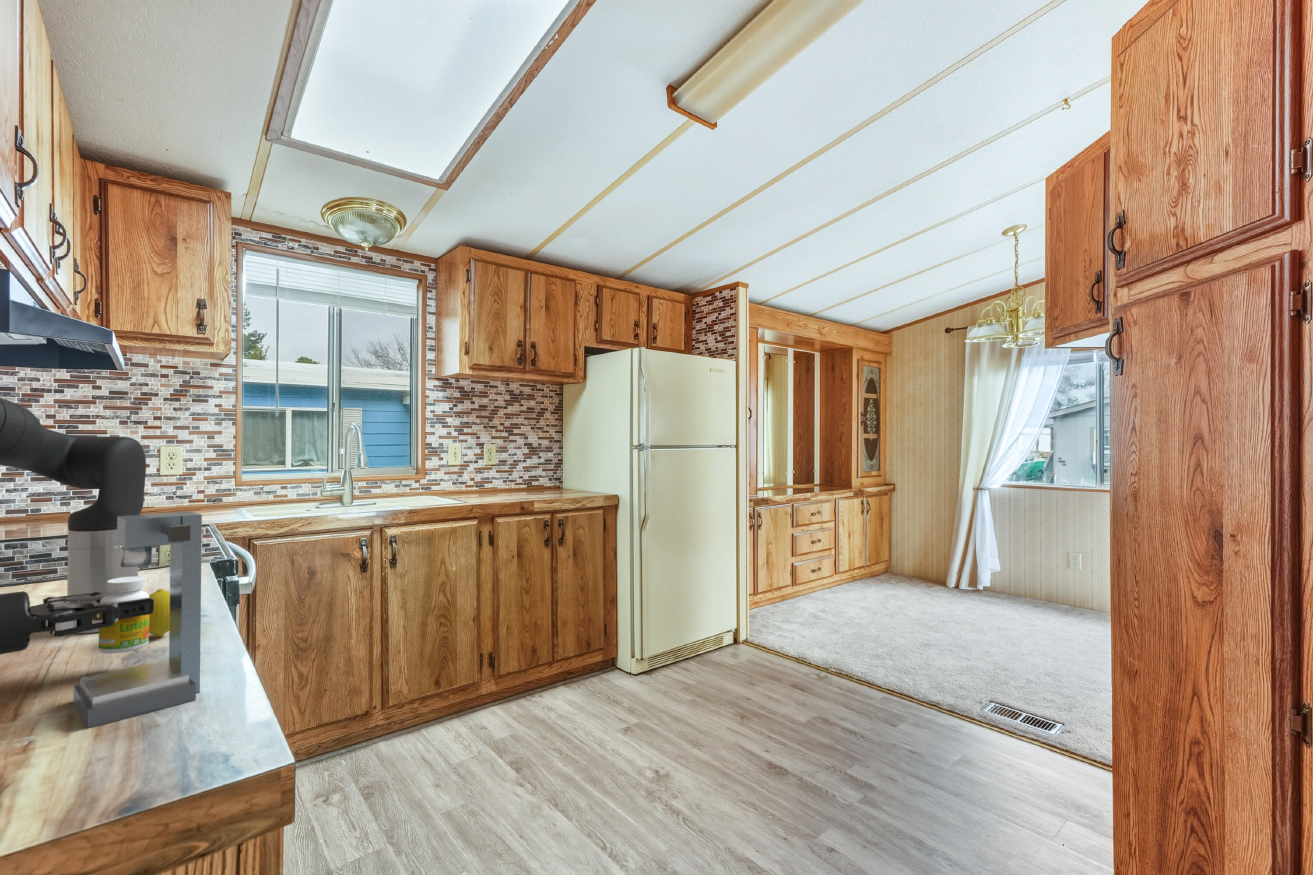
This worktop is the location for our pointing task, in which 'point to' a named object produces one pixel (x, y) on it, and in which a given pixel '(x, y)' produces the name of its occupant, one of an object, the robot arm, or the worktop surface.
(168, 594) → the lemon
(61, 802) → the worktop surface
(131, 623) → the supplement bottle
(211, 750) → the worktop surface
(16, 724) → the worktop surface
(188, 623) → the arbor press
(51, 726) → the worktop surface
